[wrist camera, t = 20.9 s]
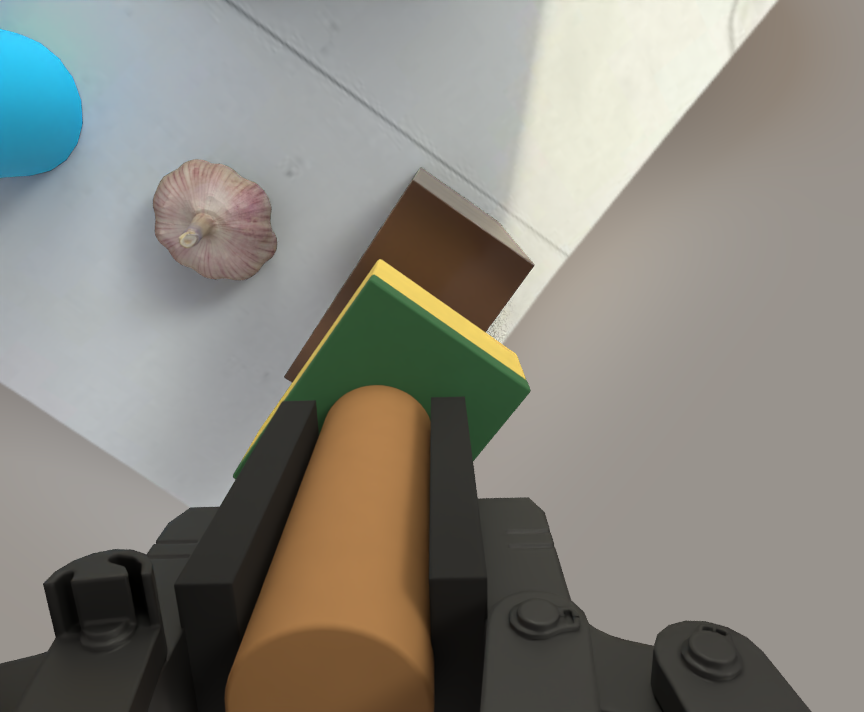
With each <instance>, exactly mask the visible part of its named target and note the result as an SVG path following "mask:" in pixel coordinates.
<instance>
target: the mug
mask: <svg viewBox="0 0 864 712" xmlns="http://www.w3.org/2000/svg"><path fill="white" fill-rule="evenodd" d="M82 124H83V121H82V105H81V99H80V96H79V93H78V91H77V88H76V85H75V82H74V80H73V78H72V76H71V75H70V73H69V72H68V71H67V69H66V68H65V66H64V65H63V63H62V62H61V61H60V59H59V58H58V57H57V56H55V55H54V54H53V53H52V52H50V51H49V50H48V49H47V48H46V47H44V46H43V45H42V44H41V43H39V42H36V41H34V40H32V39H30V38H27V37H25V36H23V35H20V34H17V33H14V32H10V31H6V30H2V29H0V178H4V177H17V176H31V175H35V174H39V173H43V172H47V171H51V170H52V169H54V168H55V167H57V166H58V165H59V164H61V163H62V162H64V161H65V160H67V158H68V157H69V155H70V154H71V152H72V151H73V149H74V148H75V146H76V145H77V143H78V139H79V136H80V132H81V128H82Z"/></svg>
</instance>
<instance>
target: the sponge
mask: <svg viewBox="0 0 864 712" xmlns="http://www.w3.org/2000/svg"><path fill="white" fill-rule="evenodd" d="M529 393H530V387H529V385H528V382H527V381H526V378H525V375H524V373H523V370H522V368H521V365H520V362H519V360H518V357H517V355H516V354H515V353H514V352H512V351H511V350H510V349H508V348H507V347H505V346H504V345H502V344H501V343H500V342H498V341H497V340H495V339H494V338H493V337H491V336H490V335H488V334H487V333H485V332H484V331H483V330H481V329H480V328H478V327H477V326H475V325H474V324H473V323H471V322H470V321H468V320H467V319H466V318H464V317H463V316H461V315H460V314H458V313H457V312H456V311H454V310H453V309H451V308H450V307H448V306H447V305H446V304H444V303H443V302H441V301H440V300H438V299H437V298H436V297H434V296H433V295H431V294H430V293H429V292H427V291H426V290H424V289H423V288H421V287H420V286H419V285H417V284H416V283H414V282H413V281H411V280H410V279H409V278H407V277H406V276H404V275H403V274H402V273H400V272H399V271H397V270H396V269H394V268H393V267H392V266H390V265H389V264H387V263H386V262H384V261H383V260H381V259H379V260H378V261H377V262H376V264H375V265H374V266H373V268H372V269H371V271H370V272H369V274H368V275H367V277H366V278H365V279H364V281H363V282H362V284H361V285H360V287H359V288H358V289H357V291H356V292H355V294H354V295H353V297H352V298H351V299H350V301H349V302H348V304H347V305H346V307H345V308H344V310H343V311H342V312H341V314H340V315H339V317H338V318H337V320H336V321H335V322H334V324H333V325H332V327H331V328H330V330H329V331H328V332H327V334H326V335H325V337H324V338H323V340H322V341H321V342H320V344H319V345H318V347H317V348H316V350H315V351H314V353H313V354H312V355H311V357H310V358H309V360H308V361H307V363H306V364H305V365H304V367H303V368H302V370H301V371H300V373H299V374H298V375H297V377H296V378H295V380H294V381H293V383H292V384H291V386H290V387H289V388H288V390H287V391H286V393H285V394H284V396H283V397H282V398H281V400H280V401H279V403H278V404H277V406H276V407H275V408H274V410H273V411H272V413H271V414H270V416H269V417H268V419H267V420H266V421H265V423H264V424H263V426H262V427H261V429H260V430H259V432H258V433H257V435H256V437H255V439H254V440H253V442H252V444H251V445H250V447H249V449H248V450H247V452H246V454H245V456H244V457H243V459H242V461H241V463H240V464H239V466H238V467H237V469H236V471H235V473H234V474H233V478H234V479H236V478H237V477H238V475H239V473H240V472H241V470H242V468H243V467H244V465H245V463H246V461H247V460H248V458H249V456H250V455H251V453H252V451H253V450H254V448H255V446H256V445H257V443H258V441H259V439H260V438H261V436H262V434H263V433H264V431H265V429H266V428H267V426H268V424H269V423H270V421H271V419H272V417H273V416H274V414H275V412H276V411H277V409H278V407H279V406H280V404H281V402H282V401H307V400H316V407H317V418H318V430H319V437H318V440H317V442H316V445H315V448H314V450H313V453H312V456H311V458H310V461H309V464H308V466H307V469H306V472H305V474H304V477H303V480H302V482H301V485H300V487H299V490H298V493H297V495H296V498H295V501H294V503H293V506H292V509H291V511H290V514H289V517H288V519H287V522H286V525H285V527H284V530H283V533H282V535H281V538H280V541H279V543H278V546H277V549H276V551H275V554H274V557H273V559H272V562H271V565H270V567H269V570H268V573H267V575H266V578H265V581H264V583H263V586H262V589H261V591H260V594H259V597H258V599H257V602H256V605H255V607H254V610H253V613H252V615H251V618H250V621H249V623H248V626H247V628H246V631H245V634H244V636H243V639H242V642H241V644H240V647H239V650H238V652H237V655H236V658H235V660H234V663H233V666H232V668H231V671H230V674H229V676H228V680H227V684H226V687H225V698H224V699H225V710H226V712H434V654H433V649H432V645H431V627H430V598H429V522H430V433H431V397H464V396H465V401H466V409H467V418H468V426H469V434H470V442H471V450H472V458H473V461H474V460H475V458H476V457H477V456H478V455H479V454H480V452H481V451H482V450H483V449H484V447H485V446H486V445H487V444H488V443H489V441H490V440H491V439H492V438H493V436H494V435H495V434H496V433H497V432H498V430H499V429H500V428H501V427H502V426H503V424H504V423H505V422H506V421H507V419H508V418H509V417H510V416H511V415H512V413H513V412H514V411H515V409H517V407H518V406H519V405H520V404H521V402H522V401H523V400H524V399H525V398H526V396H527V395H528V394H529Z"/></svg>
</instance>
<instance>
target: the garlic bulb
mask: <svg viewBox="0 0 864 712" xmlns="http://www.w3.org/2000/svg"><path fill="white" fill-rule="evenodd" d="M153 208H154V212H155V218H156V222H155V235H156V237H157V239H158V241H159V242H160V243H161V244H162V245H163V246H165V247H166V248H167V249H168V250H169V252H170V254H171V255H172V257H173V258H174V259H175V260H176V261H177V262H178V263H180V264H181V265H184V266H186V267H190V268H192V269H194V270H195V271H196V272H198V273H199V274H200V275H202V276H204V277H206V278H210V279H224V278H227V279H232V280H245V279H248V278H250V277H252V276H253V275H255V274H256V273H257V272H258V271H259V270H260V268H261V267H262V265H263V264H264V263H265V262H267V261H268V260H269V259H271V258H272V257H273V255H274V253H275V252H276V249H277V238H276V236H275V234H274V232H273V231H272V228H271V223H270V218H271V210H272V209H271V204H270V201H269V198H268V196H267V194H266V193H265V191H264V190H263V189H262V188H261V187H260V186H259V185H258V184H256V183H254V182H252V181H249V180H247V179H244V178H242V177H241V176H240V175H238V173H237V172H236V171H234V170H233V169H231V168H230V167H228V166H226V165H222V164H213V163H209V162H207V161H204V160H198V159H196V160H190V161H187V162H185V163H184V164H182V165H181V166H180V167H179V168H178V169H176V170H175V171H173V172H171V173H169V174H167V175H166V176H164V177H163V178H162V180H161V181H160V183H159V185H158V187H157V190H156V192H155V194H154V199H153Z"/></svg>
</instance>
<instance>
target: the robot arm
mask: <svg viewBox="0 0 864 712" xmlns="http://www.w3.org/2000/svg"><path fill="white" fill-rule="evenodd" d="M318 437H319V430H318V418H317V407H316V400H307V401H282V402H281V404H280V406H279V407H278V409H277V411H276V412H275V414H274V416H273V417H272V419H271V421H270V423H269V424H268V426H267V428H266V429H265V431H264V433H263V434H262V436H261V438H260V439H259V441H258V443H257V445H256V446H255V448H254V450H253V451H252V453H251V455H250V456H249V458H248V460H247V461H246V463H245V465H244V467H243V468H242V470H241V472H240V473H239V475H238V477H237V478H236V480H235V482H234V484H233V485H232V487H231V489H230V490H229V492H228V494H227V495H226V497H225V499H224V500H223V502H222V504H221V506H220V507H194V508H189V509H188V510H186V511H185V512H184V513H182V514H181V515H179V516H178V517H177V518H175V519H174V520H172V521H171V522H169V523H168V525H167V526H166V528H165V529H164V530H163V532H162V533H161V535H160V536H159V537H158V539H157V540H156V544H154V545H153V546H152V548H151V549H150V550H149V552H148V553H147V555H146V554H144V553H141V552H137V551H135V550H120V549H113V550H108V551H103V552H98V553H93V554H90V555H88V556H85V557H82V558H80V559H77V560H74V561H72V562H71V563H69V564H67V565H66V566H64V567H62V568H60V569H59V570H57V571H55V572H54V573H53V574H52V575H51V577H49V579H48V580H47V581H45V583H43V585H44V590H45V594H46V598H47V603H48V607H49V611H50V615H51V619H52V623H53V628H54V632H55V636H56V638H55V640H54V642H53V643H52V645H51V647H50V649H49V650H48V652H44V653H42V654H38V655H35V656H30V657H26V658H22V659H18V660H14V661H9V662H5V663H1V664H0V712H226V710H225V699H224V698H225V687H226V684H227V680H228V676H229V674H230V671H231V668H232V666H233V663H234V660H235V658H236V655H237V652H238V650H239V647H240V644H241V642H242V639H243V636H244V634H245V631H246V628H247V626H248V623H249V621H250V618H251V615H252V613H253V610H254V607H255V605H256V602H257V599H258V597H259V594H260V591H261V589H262V586H263V583H264V581H265V578H266V575H267V573H268V570H269V567H270V565H271V562H272V559H273V557H274V554H275V551H276V549H277V546H278V543H279V541H280V538H281V535H282V533H283V530H284V527H285V525H286V522H287V519H288V517H289V514H290V511H291V509H292V506H293V503H294V501H295V498H296V495H297V493H298V490H299V487H300V485H301V482H302V480H303V477H304V474H305V472H306V469H307V466H308V464H309V461H310V458H311V456H312V453H313V450H314V448H315V445H316V442H317V440H318ZM429 598H430V627H431V645H432V649H433V654H434V712H811V711H810V709H809V708H808V707H807V706H806V705H805V703H804V702H803V701H802V700H801V698H800V697H799V696H798V695H797V693H796V692H795V691H794V690H793V688H792V687H791V686H790V685H789V684H788V682H787V681H786V680H785V678H784V677H783V676H782V675H781V673H780V672H779V671H778V670H777V669H776V667H775V666H774V665H773V664H772V662H771V661H770V660H769V659H768V657H767V656H766V655H765V654H764V652H762V650H760V649H759V648H758V647H757V646H756V645H755V644H754V643H753V642H751V641H750V640H749V639H748V638H747V637H745V636H743V635H741V634H739V633H737V632H736V631H734V630H732V629H730V628H728V627H724V626H721V625H717V624H713V623H709V622H706V621H683V622H679V623H675V624H671V625H668V626H667V627H666V628H665V629H663V630H662V631H661V632H660V633H659V634H658V635H657V638H656V641H655V644H654V646H652V645H647V644H642V643H638V642H633V641H628V640H624V639H621V638H617V637H614V636H611V635H608V634H606V633H604V632H602V631H600V630H598V629H596V628H594V627H593V626H592V625H590V624H589V623H588V620H587V618H586V616H585V613H584V612H583V611H582V610H581V609H580V608H579V607H578V606H577V605H576V604H575V603H574V602H572V601H571V598H570V595H569V592H568V588H567V585H566V582H565V579H564V575H563V572H562V569H561V566H560V562H559V559H558V555H557V552H556V549H555V547H554V542H553V539H552V535H551V533H550V530H549V526H548V522H547V519H546V516H545V512H544V511H543V510H541V508H539V507H538V506H537V505H536V504H535V503H534V502H533V501H532V500H531V499H530V498H490V499H489V498H486V499H478V498H477V490H476V483H475V474H474V466H473V458H472V450H471V442H470V434H469V426H468V418H467V409H466V401H465V396H464V397H431V433H430V522H429Z"/></svg>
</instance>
